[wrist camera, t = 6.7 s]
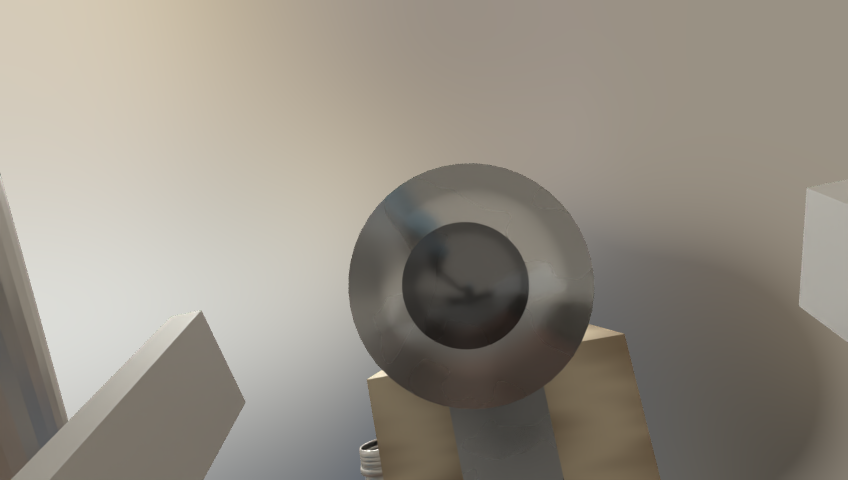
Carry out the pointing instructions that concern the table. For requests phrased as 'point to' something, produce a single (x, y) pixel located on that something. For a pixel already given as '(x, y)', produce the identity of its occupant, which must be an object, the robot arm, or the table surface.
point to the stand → (569, 410)
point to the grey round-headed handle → (476, 308)
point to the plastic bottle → (371, 461)
